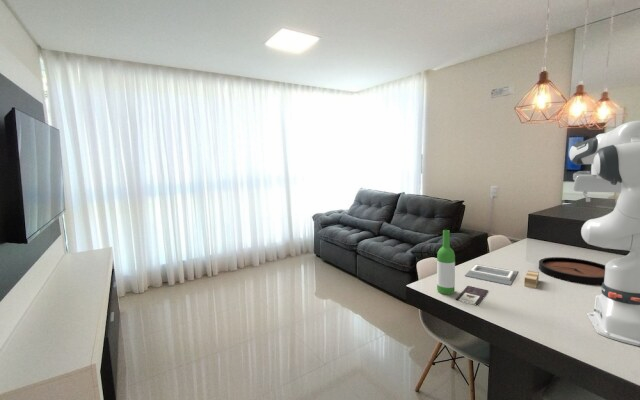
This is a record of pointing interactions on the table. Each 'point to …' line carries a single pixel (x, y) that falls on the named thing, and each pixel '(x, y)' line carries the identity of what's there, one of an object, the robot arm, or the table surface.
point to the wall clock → (573, 270)
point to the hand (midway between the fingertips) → (602, 202)
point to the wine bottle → (446, 266)
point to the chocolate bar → (472, 295)
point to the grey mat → (492, 274)
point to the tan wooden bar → (531, 279)
